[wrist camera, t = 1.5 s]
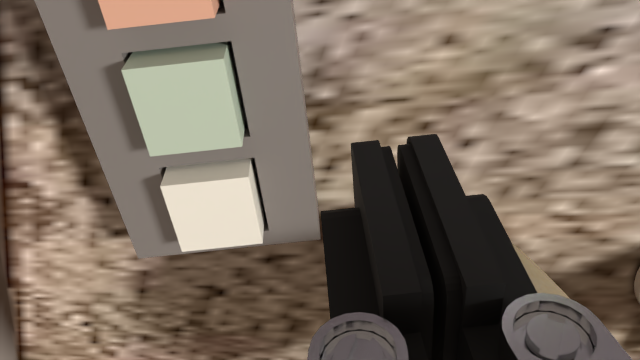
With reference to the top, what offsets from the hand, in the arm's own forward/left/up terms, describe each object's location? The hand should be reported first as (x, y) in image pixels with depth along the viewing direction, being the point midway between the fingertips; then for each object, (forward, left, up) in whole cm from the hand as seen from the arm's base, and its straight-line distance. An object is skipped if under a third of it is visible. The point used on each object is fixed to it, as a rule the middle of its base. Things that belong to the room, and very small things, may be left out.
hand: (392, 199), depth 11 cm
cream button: (-12, +8, -18) cm, 24 cm away
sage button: (-5, +8, -18) cm, 21 cm away
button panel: (-5, +8, -21) cm, 23 cm away
